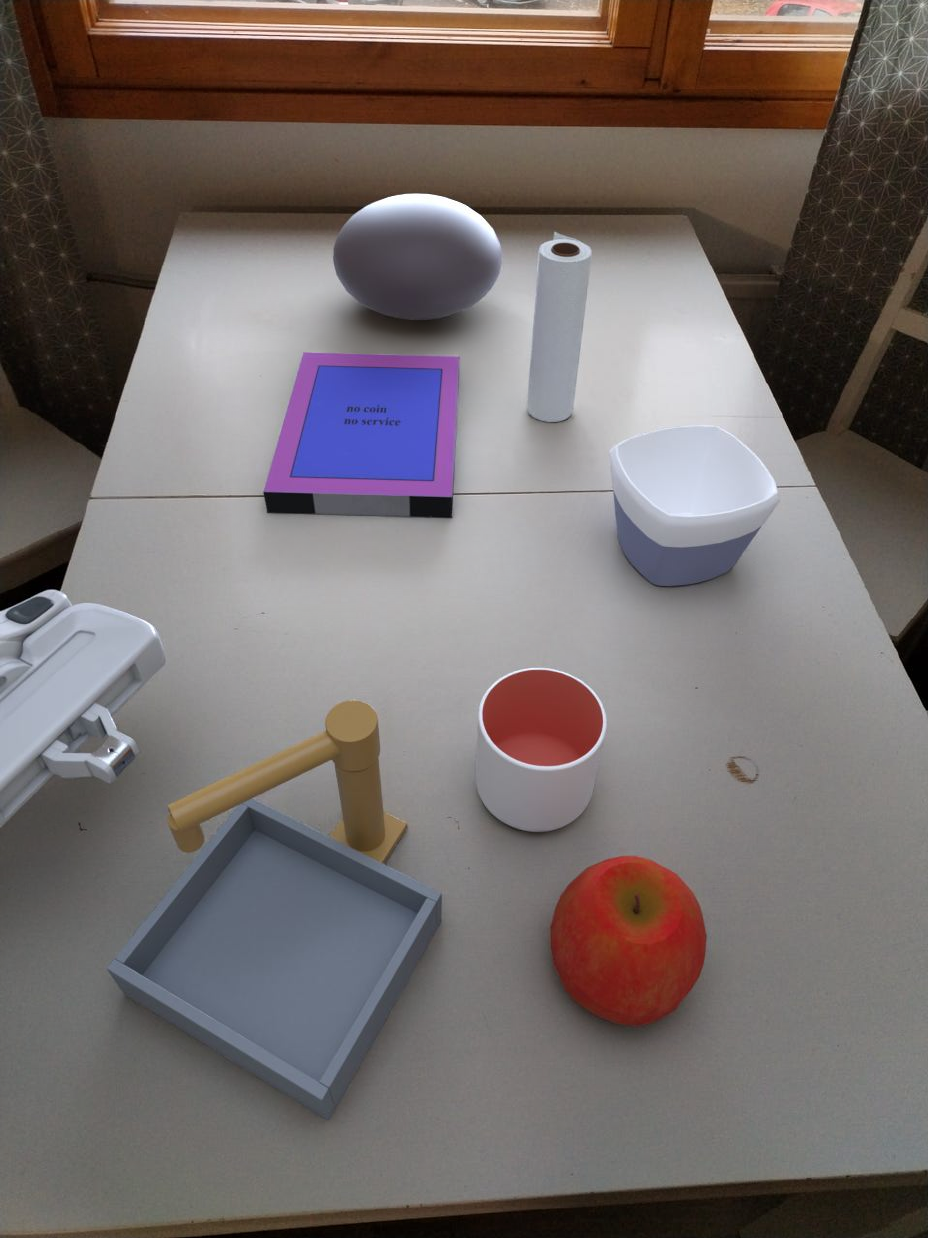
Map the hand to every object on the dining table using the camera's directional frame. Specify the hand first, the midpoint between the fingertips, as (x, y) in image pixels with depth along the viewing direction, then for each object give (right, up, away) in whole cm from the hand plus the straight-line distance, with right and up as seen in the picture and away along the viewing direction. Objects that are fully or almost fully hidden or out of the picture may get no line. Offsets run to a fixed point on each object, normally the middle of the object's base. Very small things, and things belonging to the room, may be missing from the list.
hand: (124, 762), depth 61 cm
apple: (+35, -16, +5) cm, 39 cm away
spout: (+11, -3, +1) cm, 11 cm away
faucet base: (+15, -8, +12) cm, 21 cm away
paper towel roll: (+35, +37, +56) cm, 75 cm away
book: (+12, +32, +50) cm, 61 cm away
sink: (+10, -15, +5) cm, 19 cm away
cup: (+29, -5, +16) cm, 34 cm away
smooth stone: (+17, +58, +74) cm, 95 cm away
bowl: (+46, +17, +37) cm, 62 cm away
